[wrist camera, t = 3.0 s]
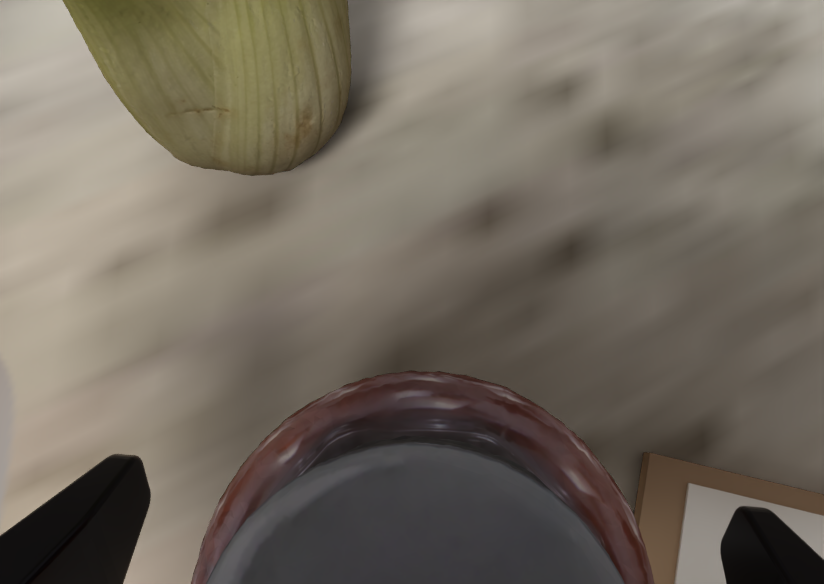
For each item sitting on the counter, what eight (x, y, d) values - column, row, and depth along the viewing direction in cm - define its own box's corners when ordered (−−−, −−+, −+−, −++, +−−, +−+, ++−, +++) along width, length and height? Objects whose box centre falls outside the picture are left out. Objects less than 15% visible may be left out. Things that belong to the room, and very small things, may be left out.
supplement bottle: (566, 435, 16) (841, 423, 5) (519, 683, 15) (756, 1317, 4) (345, 380, 17) (189, 267, 6) (281, 615, 16) (-66, 1026, 5)
